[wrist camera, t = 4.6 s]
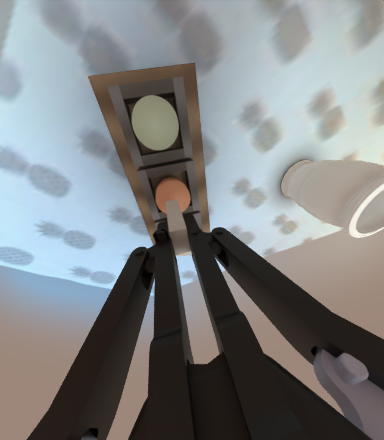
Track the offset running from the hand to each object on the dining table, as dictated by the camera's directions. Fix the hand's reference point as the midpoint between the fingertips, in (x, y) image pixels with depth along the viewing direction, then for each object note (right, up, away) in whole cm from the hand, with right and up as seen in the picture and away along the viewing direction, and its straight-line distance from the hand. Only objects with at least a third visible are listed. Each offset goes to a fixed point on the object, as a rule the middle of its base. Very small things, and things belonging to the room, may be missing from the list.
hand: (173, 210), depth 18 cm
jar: (+26, +8, +14) cm, 31 cm away
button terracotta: (-1, +3, +5) cm, 6 cm away
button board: (-2, +6, +9) cm, 11 cm away
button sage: (-2, +11, 0) cm, 11 cm away
